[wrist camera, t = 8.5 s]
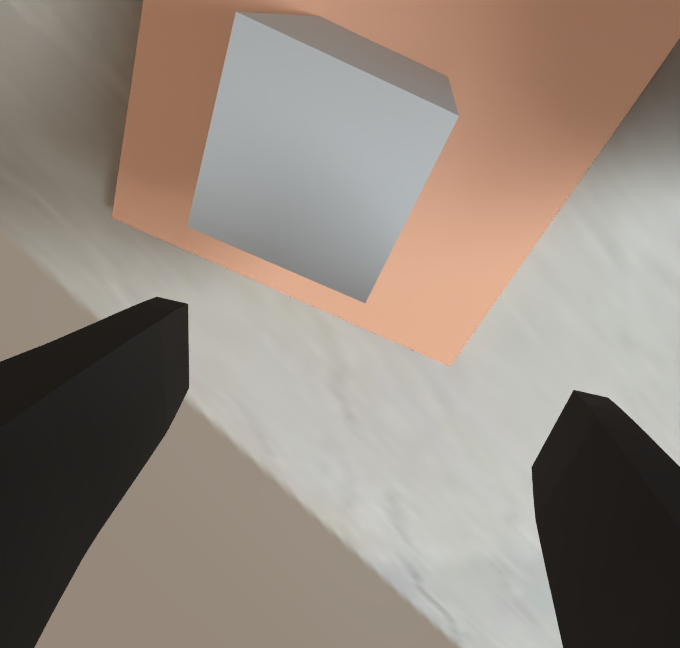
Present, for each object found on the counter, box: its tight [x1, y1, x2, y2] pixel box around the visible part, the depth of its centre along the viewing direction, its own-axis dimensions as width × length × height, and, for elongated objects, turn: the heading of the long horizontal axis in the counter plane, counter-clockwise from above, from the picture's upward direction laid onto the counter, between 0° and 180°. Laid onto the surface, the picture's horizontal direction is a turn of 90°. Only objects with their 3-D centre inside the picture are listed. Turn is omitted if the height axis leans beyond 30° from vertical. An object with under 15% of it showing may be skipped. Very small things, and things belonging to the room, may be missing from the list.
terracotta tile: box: [112, 0, 680, 366], centre depth 16 cm, size 14×13×1 cm
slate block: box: [187, 12, 459, 303], centre depth 12 cm, size 4×4×7 cm
